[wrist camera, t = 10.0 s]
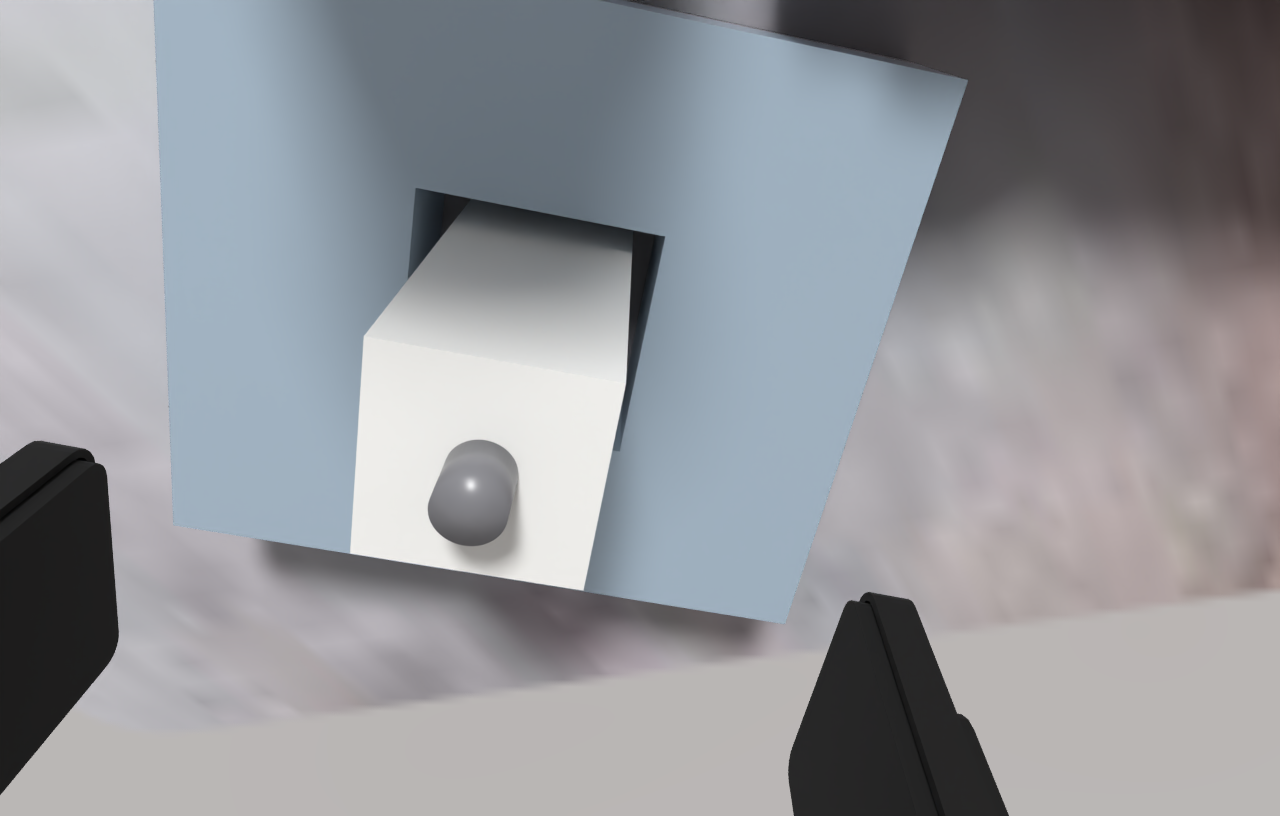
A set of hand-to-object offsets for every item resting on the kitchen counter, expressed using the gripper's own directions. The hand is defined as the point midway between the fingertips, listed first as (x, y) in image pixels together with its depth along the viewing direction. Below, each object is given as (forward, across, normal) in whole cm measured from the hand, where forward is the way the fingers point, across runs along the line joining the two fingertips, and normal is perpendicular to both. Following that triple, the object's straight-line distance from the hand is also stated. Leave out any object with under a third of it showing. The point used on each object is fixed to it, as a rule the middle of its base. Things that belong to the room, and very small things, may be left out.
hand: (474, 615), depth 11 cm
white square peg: (+14, +1, 0) cm, 14 cm away
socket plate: (+14, +1, 0) cm, 15 cm away
